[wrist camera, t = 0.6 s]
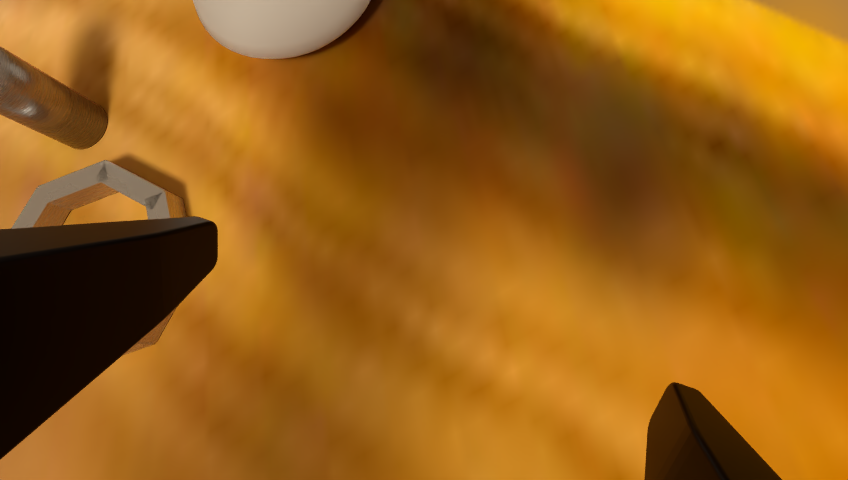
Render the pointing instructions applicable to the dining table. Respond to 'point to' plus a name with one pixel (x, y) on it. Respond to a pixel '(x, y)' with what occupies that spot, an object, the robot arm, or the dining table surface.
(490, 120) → the dining table surface
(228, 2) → the flower in vase
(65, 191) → the octagon frame
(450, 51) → the dining table surface
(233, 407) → the dining table surface
